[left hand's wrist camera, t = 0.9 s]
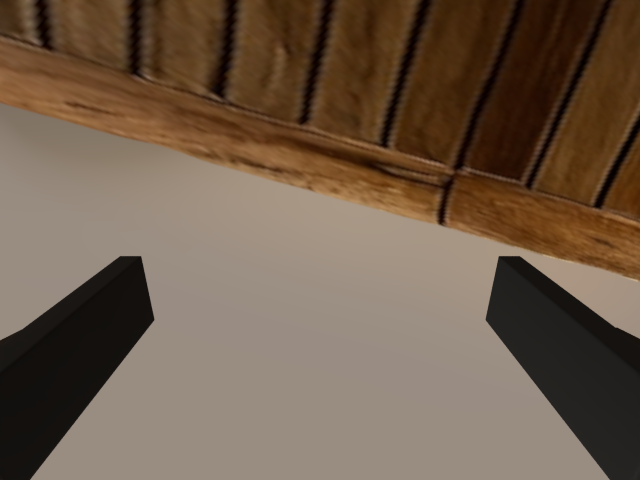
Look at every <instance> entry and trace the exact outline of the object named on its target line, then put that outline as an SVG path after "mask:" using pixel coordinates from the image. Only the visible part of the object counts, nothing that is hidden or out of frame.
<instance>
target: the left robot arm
mask: <svg viewBox="0 0 640 480" xmlns="http://www.w3.org/2000/svg"><path fill="white" fill-rule="evenodd" d="M153 321H154V315H153V311H152V306H151V301H150V296H149V292H148V287H147V282H146V278H145V272H144V268H143V263H142V258H141V256H120V257H119V258H117V259H116V260H115V261H113V262H112V263H111V264H109V265H108V266H107V267H105V268H104V269H103V270H101V271H100V272H99V273H97V274H96V275H95V276H93V277H92V278H90V279H89V280H88V281H86V282H85V283H84V284H82V285H81V286H80V287H78V288H77V289H76V290H74V291H73V292H72V293H70V294H69V295H68V296H66V297H65V298H64V299H62V300H61V301H60V302H58V303H57V304H56V305H54V306H53V307H52V308H50V309H49V310H48V311H46V312H45V313H44V314H42V315H41V316H40V317H38V318H37V319H36V320H34V321H33V322H32V323H30V324H29V325H28V326H26V327H25V328H24V329H22V330H20V331H18V332H16V333H14V334H12V335H10V336H8V337H6V338H4V339H2V340H0V480H30V479H31V478H32V476H33V475H34V474H35V473H36V471H37V470H38V469H39V467H40V466H41V465H42V464H43V462H44V461H45V460H46V458H47V457H48V456H49V455H50V453H51V452H52V451H53V450H54V448H55V447H56V446H57V444H58V443H59V442H60V440H61V439H62V438H63V437H64V435H65V434H66V433H67V431H68V430H69V429H70V428H71V426H72V425H73V424H74V423H75V421H76V420H77V419H78V417H79V416H80V415H81V414H82V412H83V411H84V410H85V408H86V407H87V406H88V405H89V403H90V402H91V401H92V399H93V398H94V397H95V396H96V394H97V393H98V392H99V390H100V389H101V388H102V387H103V385H104V384H105V383H106V381H107V380H108V379H109V378H110V376H111V375H112V374H113V372H114V371H115V370H116V368H117V367H118V366H119V365H120V363H121V362H122V361H123V360H124V358H125V357H126V356H127V354H128V353H129V352H130V351H131V349H132V348H133V347H134V345H135V344H136V343H137V342H138V340H139V339H140V338H141V336H142V335H143V334H144V333H145V331H146V330H147V329H148V327H149V326H150V325H151V324H152V322H153ZM486 321H487V322H488V324H489V325H490V326H491V327H492V329H493V330H494V331H495V333H496V334H497V335H498V336H499V338H500V339H501V340H502V342H503V343H504V344H505V345H506V347H507V348H508V349H509V351H510V352H511V353H512V354H513V356H514V357H515V358H516V360H517V361H518V362H519V363H520V365H521V366H522V367H523V369H524V370H525V371H526V372H527V374H528V375H529V376H530V378H531V379H532V380H533V381H534V383H535V384H536V385H537V387H538V388H539V389H540V390H541V392H542V393H543V394H544V396H545V397H546V398H547V399H548V401H549V402H550V403H551V405H552V406H553V407H554V408H555V410H556V411H557V412H558V414H559V415H560V416H561V417H562V419H563V420H564V421H565V423H566V424H567V425H568V426H569V428H570V429H571V430H572V432H573V433H574V434H575V435H576V437H577V438H578V439H579V441H580V442H581V443H582V444H583V446H584V447H585V448H586V450H587V451H588V452H589V453H590V455H591V456H592V457H593V459H594V460H595V461H596V462H597V464H598V465H599V466H600V468H601V469H602V470H603V471H604V473H605V474H606V475H607V476H608V478H609V479H610V480H640V339H639V338H637V337H635V336H633V335H631V334H629V333H627V332H625V331H623V330H621V329H619V328H615V327H614V326H612V325H611V324H610V323H608V322H607V321H606V320H604V319H603V318H602V317H600V316H599V315H598V314H596V313H595V312H594V311H592V310H591V309H590V308H588V307H587V306H586V305H584V304H583V303H582V302H580V301H579V300H578V299H576V298H575V297H574V296H572V295H571V294H570V293H568V292H567V291H566V290H564V289H563V288H562V287H560V286H559V285H558V284H556V283H555V282H554V281H552V280H551V279H550V278H548V277H547V276H545V275H544V274H543V273H541V272H540V271H539V270H537V269H536V268H535V267H533V266H532V265H531V264H529V263H528V262H527V261H525V260H524V259H523V258H521V257H520V256H499V258H498V263H497V268H496V272H495V277H494V282H493V287H492V292H491V296H490V301H489V306H488V311H487V315H486Z"/></svg>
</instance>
